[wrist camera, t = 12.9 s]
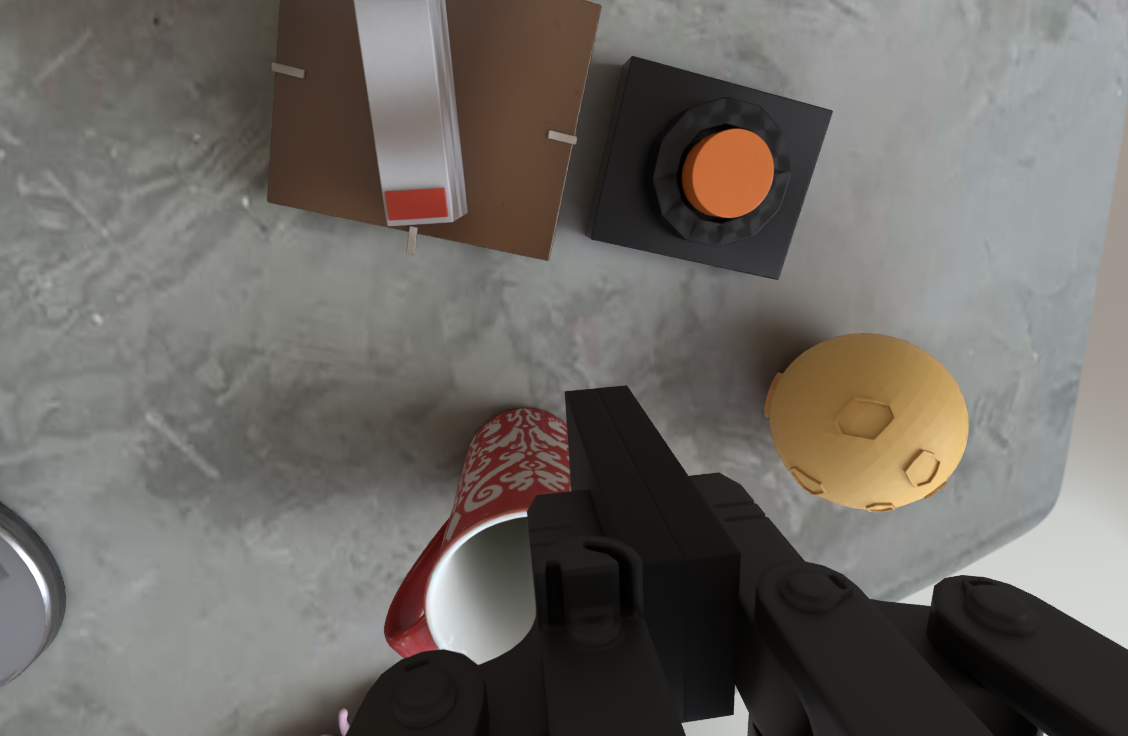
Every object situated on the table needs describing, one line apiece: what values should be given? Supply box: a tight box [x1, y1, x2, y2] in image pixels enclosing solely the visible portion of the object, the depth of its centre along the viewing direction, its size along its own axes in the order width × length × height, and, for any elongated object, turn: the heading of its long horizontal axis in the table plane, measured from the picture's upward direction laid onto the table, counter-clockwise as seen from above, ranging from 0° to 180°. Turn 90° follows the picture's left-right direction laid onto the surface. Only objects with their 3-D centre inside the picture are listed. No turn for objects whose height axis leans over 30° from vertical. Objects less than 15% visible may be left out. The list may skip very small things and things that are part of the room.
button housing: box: [586, 56, 833, 280], centre depth 30 cm, size 11×9×4 cm
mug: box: [384, 408, 571, 665], centre depth 30 cm, size 13×9×14 cm
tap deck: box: [267, 0, 602, 261], centre depth 28 cm, size 14×14×3 cm
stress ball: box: [764, 333, 969, 512], centre depth 32 cm, size 10×10×10 cm
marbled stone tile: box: [353, 0, 468, 226], centre depth 23 cm, size 10×2×8 cm, turn 3°
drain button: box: [682, 129, 774, 218], centre depth 27 cm, size 4×4×2 cm
